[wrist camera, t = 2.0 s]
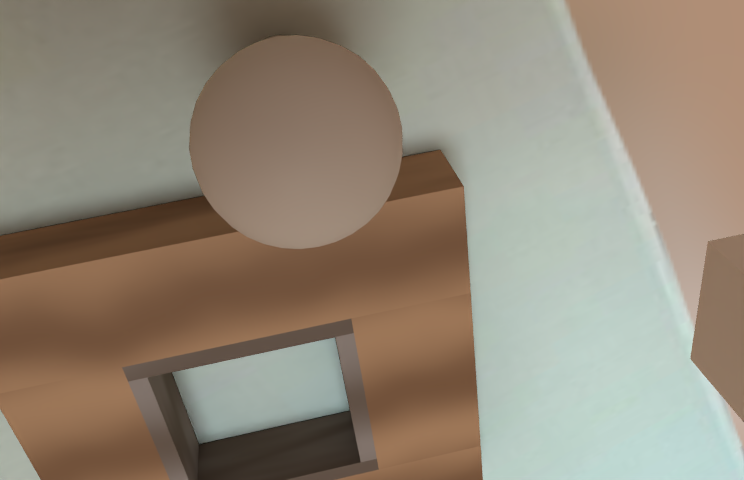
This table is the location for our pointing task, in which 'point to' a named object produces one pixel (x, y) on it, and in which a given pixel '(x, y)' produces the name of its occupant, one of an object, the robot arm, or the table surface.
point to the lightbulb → (296, 142)
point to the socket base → (243, 340)
